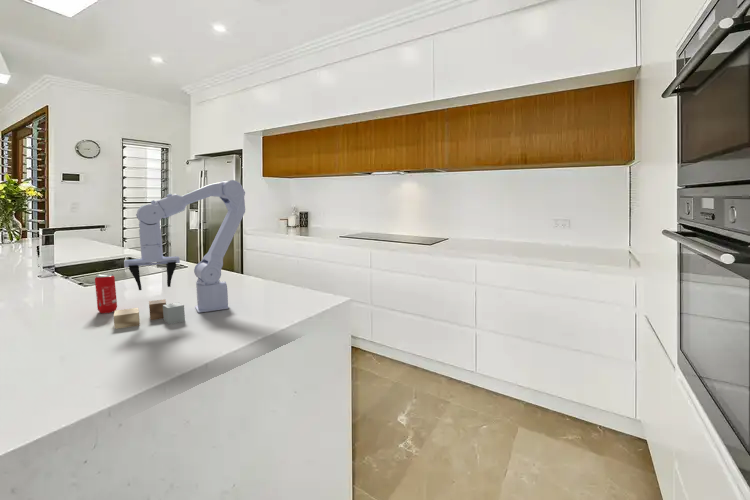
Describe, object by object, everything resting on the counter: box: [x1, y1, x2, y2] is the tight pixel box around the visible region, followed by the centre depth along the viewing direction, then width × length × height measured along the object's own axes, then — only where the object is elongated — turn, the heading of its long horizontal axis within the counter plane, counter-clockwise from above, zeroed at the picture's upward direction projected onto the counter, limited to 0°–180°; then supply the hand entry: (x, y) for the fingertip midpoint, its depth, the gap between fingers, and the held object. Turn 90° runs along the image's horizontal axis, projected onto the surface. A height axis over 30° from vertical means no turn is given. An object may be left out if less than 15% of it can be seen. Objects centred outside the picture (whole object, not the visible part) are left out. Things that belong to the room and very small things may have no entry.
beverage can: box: [94, 273, 118, 314], centre depth 122 cm, size 5×5×12 cm
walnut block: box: [148, 298, 167, 321], centre depth 117 cm, size 4×4×5 cm
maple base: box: [113, 307, 141, 330], centre depth 110 cm, size 6×6×4 cm
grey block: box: [163, 302, 186, 325], centre depth 113 cm, size 4×4×5 cm
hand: (154, 287), depth 116 cm, fingers open, 7 cm apart
